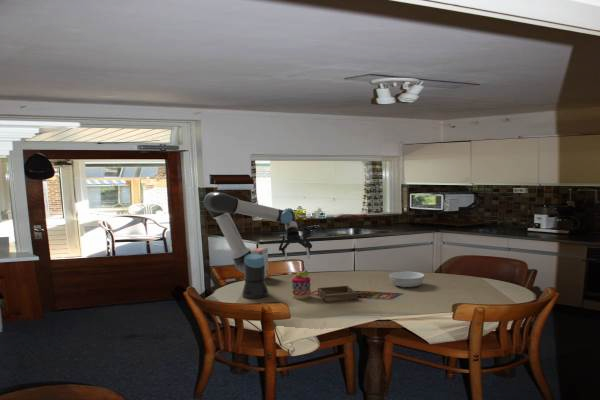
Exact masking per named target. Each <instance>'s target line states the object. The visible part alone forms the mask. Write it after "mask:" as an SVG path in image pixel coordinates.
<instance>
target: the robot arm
mask: <svg viewBox="0 0 600 400" xmlns="http://www.w3.org/2000/svg"><path fill="white" fill-rule="evenodd" d="M203 205H204V206H203V207H204V208H205V209H206V211H208V213H209V214H210V217H211V218H212V219H215V221H216V223H217V224H218V227H219V228H220V231H221V232H222V234H223V236H224V239H225V240H226V242H227V245H228V246H229V248H230V250H231V252H232V256H231V258H232V260H233V265H234V267H235V269H236V270H237V271H238V272H240V273H242V274H244V285H243V289H242V298H245V299H252V300H254V299H263V298H265V297H268V296H269V289H268V285H267V283H266V279H265V261H264V257H263V256H262V255H259V254H252V250H251V249H250V247H247V246H246V244H245V243H244V240H243V238H242V236H241V234H240V232H239V230H238V228H237V225H235V222H234V219H233V218H232V216H231V215H235V214H241V215H245V216H249V217H254V218H259V219H263V220H267V221H270V222H276V223H280V224H284V228H285V232H286V236H284V235H282V238H281V242H280V243H279V247H278V252H282V256H284V260H285V261H288V256H287V255H288V254H287V250H286V249H287V248H288V246H289V245H290V244H297V243H298V244H299V245H301V246H303V248H305V251H306V252H305V253H306V256H307V259H308V260H309V259H310V257H311V256H310V254H311V249H313V244H312V243H311V242H310V241H309V239H307V237H306V236H305V234H302V235H300V232H299V227H298V223H297V218H296V214H295V211H294V209H292V208H289V207H288V208H285V209H280V208H275V207H271V206H267V205H263V204H258V203H254V202H250V201H244V200H241V199H239V198H238V197H236V196H232V195H229V194H227V193H225V192H220V191H219V192H218V191H212V192H211V191H210V192H209V193H207V194H206V195H205V196H204V198H203ZM286 240H287V241H286ZM285 241H286V243H285Z"/></svg>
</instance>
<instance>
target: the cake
mask: <svg viewBox="0 0 600 400" xmlns="http://www.w3.org/2000/svg"><path fill="white" fill-rule="evenodd" d="M291 282H292V291H291V293H292V298H293V299H295V300H299V299H300V300H301V301H302V300H309V299H310V298H311V292H312V290H311V278H310V276H309V271H308V270H306V269H305V270H304V272H302V273H301V272H297V273H296V274H295V276H294V277H292V279H291Z"/></svg>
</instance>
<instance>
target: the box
mask: <svg viewBox="0 0 600 400" xmlns="http://www.w3.org/2000/svg"><path fill="white" fill-rule="evenodd" d="M317 295H318V297H319V298H321V300H322V301H323V302H324V303H325V304H331V303H344V302H354V301H355V302H356V301H358V300H359V299H358V295H359V293H358V292H357V291H356V290H354V289H353V288H352V287H350V286H349V285H340V286H337V285H336V286H327V287H326V286H324V287H317Z"/></svg>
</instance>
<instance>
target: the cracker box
mask: <svg viewBox="0 0 600 400" xmlns="http://www.w3.org/2000/svg"><path fill="white" fill-rule="evenodd" d="M251 253H252V254H259V255H262V256H263V257H264V261H265V280H266V279H268V278H269V277H270V271H269V250H268V247H265V246H264V247H262V246H261V247H258V248H255V249H253V250H251Z"/></svg>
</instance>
